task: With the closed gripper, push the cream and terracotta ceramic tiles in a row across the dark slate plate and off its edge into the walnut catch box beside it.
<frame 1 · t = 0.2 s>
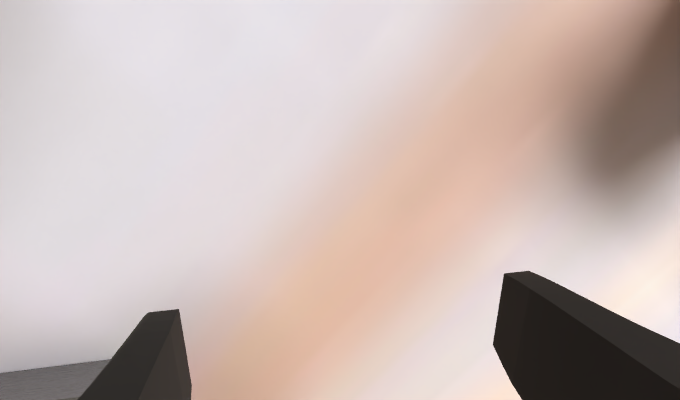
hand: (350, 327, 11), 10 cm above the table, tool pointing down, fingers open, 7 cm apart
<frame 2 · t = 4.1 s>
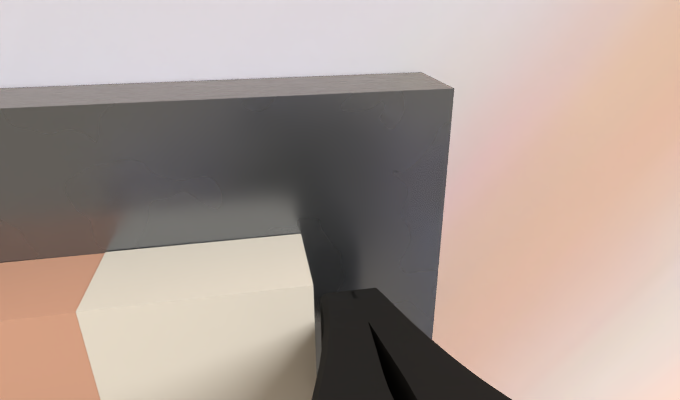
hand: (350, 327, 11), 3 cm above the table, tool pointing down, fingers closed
tile 2: (216, 319, 11), point 2 cm above the table, touching gripper, tile 1
tile 1: (25, 343, 10), point 2 cm above the table, touching tile 2
slate plate: (190, 275, 13), on the table
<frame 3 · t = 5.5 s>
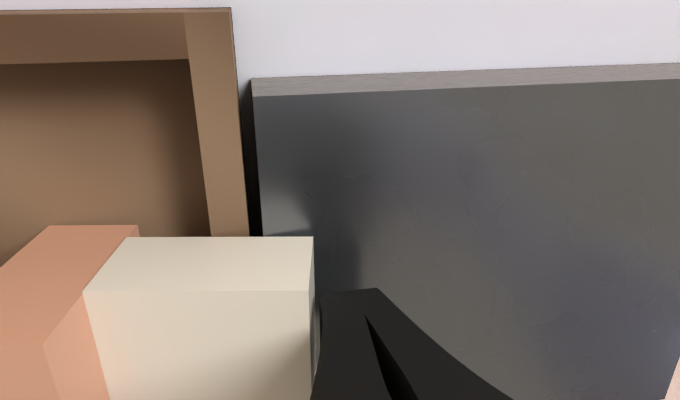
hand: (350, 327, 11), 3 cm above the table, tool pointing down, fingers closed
tile 2: (228, 312, 11), point 2 cm above the table, tilted 10°, touching gripper, tile 1
tile 1: (118, 355, 10), point 3 cm above the table, tilted 100°, touching catch box, tile 2
slate plate: (474, 246, 14), on the table
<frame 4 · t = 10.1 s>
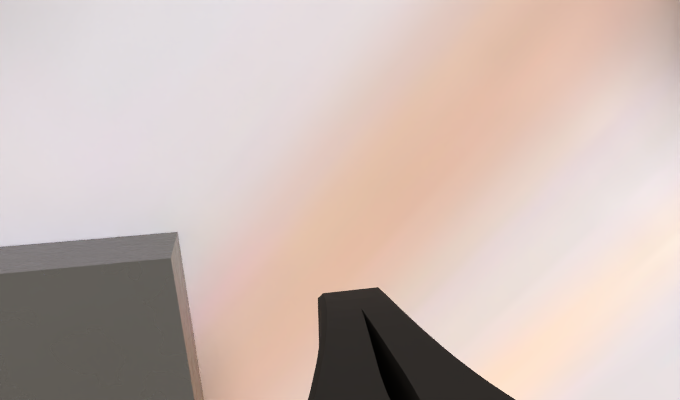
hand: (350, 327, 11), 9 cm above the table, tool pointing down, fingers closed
slate plate: (43, 351, 20), on the table
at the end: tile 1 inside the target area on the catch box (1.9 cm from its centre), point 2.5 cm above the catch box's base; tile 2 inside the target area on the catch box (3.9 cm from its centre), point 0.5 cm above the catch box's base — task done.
